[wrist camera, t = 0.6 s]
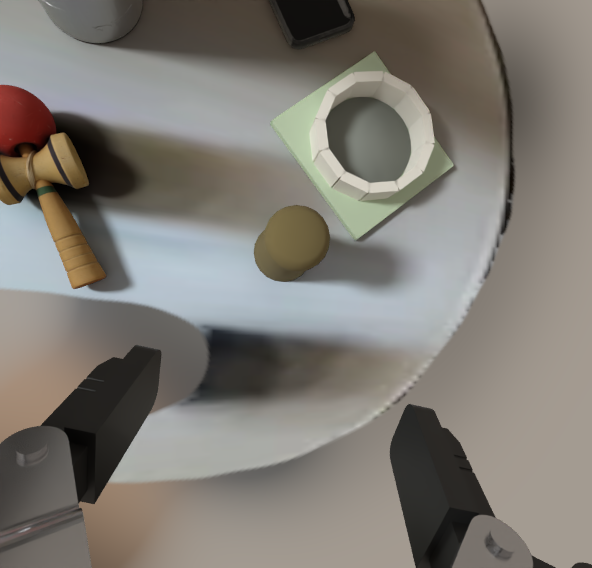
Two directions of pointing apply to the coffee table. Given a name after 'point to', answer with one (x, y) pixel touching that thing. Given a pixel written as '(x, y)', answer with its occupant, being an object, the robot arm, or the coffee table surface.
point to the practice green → (364, 143)
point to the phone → (312, 20)
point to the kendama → (44, 176)
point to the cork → (291, 243)
